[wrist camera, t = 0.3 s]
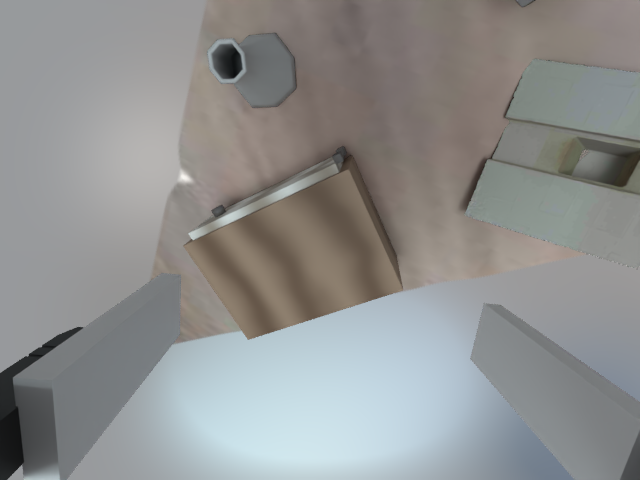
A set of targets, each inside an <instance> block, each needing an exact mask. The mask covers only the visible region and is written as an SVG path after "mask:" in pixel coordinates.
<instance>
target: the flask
mask: <svg viewBox="0 0 640 480" xmlns="http://www.w3.org/2000/svg"><path fill="white" fill-rule="evenodd" d="M207 56H208V62H209V68H210V71H211V72H212V73H213V75H214V76H215V77H216V78H217V80H218V81H219V82H220V83H221V84H230V83H234V85H235V87H236V88H237V89H238V91H239V92H240V93H241V94H242V95H243V97H244V98H245V99H246V100H247V102H248V103H249V104H250V105H251V107H252V108H260V107H277V106H278V105H279V104H280V103H282V102H283V101H284V100H285V99H286V98H287V97H288V96H289V95H290V94H291V93H292V92H293V91H294V90H295V89H296V78H295V63H294V57H293V56H292V54H291V53H290V51H289V50H288V49H287V47H286V46H285V45H284V43H283V42H282V41H281V39H280V38H279V37H278V35H277V34H276V33H270V34H258V35H249V36H248V37H246V39H245V40H244V41H243V42H242V43H240V44H239V45H238V43H237V42H236V41H235V39H234V38H230V39H218V40H216V42H215V43H214V44H213V45H212V46H211V47H210V49H209V50H208V51H207Z"/></svg>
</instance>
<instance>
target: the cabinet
mask: <svg viewBox="0 0 640 480" xmlns="http://www.w3.org/2000/svg"><path fill="white" fill-rule="evenodd" d="M336 152H337V153H336V154H334V155H333V157H331V158H329V159H327V160H325V161H323V162H321V163H319V164H317V165H314V166H312V167H310V168H308V169H306V170H304V171H302V172H300V173H298V174H296V175H294V176H292V177H290V178H288V179H286V180H283V181H281V182H279V183H277V184H275V185H273V186H271V187H269V188H267V189H265V190H263V191H261V192H259V193H257V194H255V195H252V196H250V197H248V198H246V199H244V200H242V201H240V202H238V203H236V204H234V205H232V206H230V207H228V208H226V209H225V208H224V207H223V205H220V206H218V207H216V208H215V209H213V210H211V211H212V213H213V214H214V215H213V216H211V217H210V218H209V219H207V220H206V221H205V222H203V223H202V224H200V225H199V226H198V227H196V228H195V229H194V230H192V231H191V232H190V233H188V234H189V235H190V237H191V238H192V239H191V240H190V241H189V242H187V243H186V244H185V245H184V248H185V249H186V251H187V252H188V253H189V255H190V256H191V258H192V259H193V261H194V262H195V264H196V265H197V266H198V268H199V269H200V271H201V272H202V274H203V275H204V277H205V278H206V279H207V281H208V282H209V284H210V285H211V287H212V288H213V290H214V291H215V292H216V294H217V295H218V297H219V298H220V300H221V301H222V303H223V304H224V306H225V307H226V308H227V310H228V311H229V313H230V314H231V316H232V317H233V319H234V320H235V321H236V323H237V324H238V326H239V327H240V329H241V330H242V332H243V333H244V334H245V336H246V337H247V339H248V340H249V339H252V338H255V337H258V336H262V335H264V334H267V333H271V332H274V331H277V330H280V329H283V328H286V327H290V326H293V325H296V324H299V323H302V322H305V321H308V320H312V319H315V318H317V317H321V316H324V315H327V314H330V313H333V312H336V311H339V310H343V309H346V308H349V307H352V306H355V305H358V304H361V303H365V302H368V301H371V300H374V299H377V298H380V297H383V296H387V295H389V294H393V293H396V292H399V291H402V290H403V286H402V281H401V276H400V271H399V266H398V261H397V256H396V254H395V251H394V249H393V247H392V245H391V242H390V240H389V238H388V236H387V233H386V231H385V229H384V226H383V224H382V222H381V220H380V217H379V215H378V213H377V211H376V208H375V206H374V204H373V201H372V199H371V197H370V195H369V192H368V190H367V188H366V186H365V183H364V181H363V179H362V176H361V174H360V172H359V170H358V167H357V165H356V163H355V161H354V158H353V156H350V157H348V158H346V159H344V155H346V153H347V152H346V150H345V147H344V146H342V147H340V148H338V149H337V150H336Z"/></svg>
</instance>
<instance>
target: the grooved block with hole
mask: <svg viewBox="0 0 640 480" xmlns="http://www.w3.org/2000/svg"><path fill="white" fill-rule="evenodd" d="M521 77H522V79H520V82H519V86H518V87H517V91H515V93H514V95H513V97H514V99H513V100H512V101H511V104H510V105H511V106H510V107H509V109H508V111H507V114H506V116H505V118H507V119H508V120H509V124H508V126H507V127H506V128H505V129H504V133H502V135H503V136H502V137H501V139H500V140H501V141H500V142H499V143H498V148H496V151H495V153H494V154H493V156H492V157H493V158H492V159H487V162H486V164H485V167H484V169H483V171H482V174H481V177H480V179H479V180H478V183H477V187H476V190H474V194H473V196H472V198H471V201H470V202H469V205H468V208H467V210H466V213H465V215H466V216H468V217H470V216H472V218H474V219H476V220H480V221H481V220H482V221H483V222H488V223H491V224H494V225H498V226H499V227H505V228H507V229H510V230H513V231H515V232H520V233H522V234H525V235H529V236H532V237H533V238H537V239H541V240H542V239H543V240H544V241H545V240H547V241H548V242H551V243H554V244H556V245H561V246H564V247H569V248H571V249H573V250H577V251H579V252H583V253H586V254H590V255H594V256H597V257H599V258H601V259H602V258H603V259H605V260H609V261H614V262H616V263H618V264H623V265H627V266H628V267H633V268H635V267H636V268H637V269H638V267H639V266H640V72H631V71H629V72H628V71H624V70H616V69H609V68H606V69H605V68H600V67H595V66H593V67H592V66H590V67H588V66H586V67H585V65H578V64H576V65H573V64H568V63H564V62H563V63H560V62H558V63H557V62H552V61H550V60H548V62H546V61H545V60H538V59H533V61H532V62H531V64H530V65H529V66H528V67H527V68H526V69H525V71H524V72H523V74H522V76H521ZM585 149H587V150H588V151H589V153H588V154H587V155H586V156H585V157H584V158H582V159H581V160H580V161H579V162H578V160H579V158H580V155H581V153H582V150H585Z"/></svg>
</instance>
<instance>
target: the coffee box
mask: <svg viewBox="0 0 640 480" xmlns="http://www.w3.org/2000/svg"><path fill="white" fill-rule="evenodd" d="M516 1H517V2H518V3H519V4H520V5H521V6H522V7H525V6H527V5H529V4H530V3H532V2H533V1H535V0H516Z"/></svg>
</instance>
